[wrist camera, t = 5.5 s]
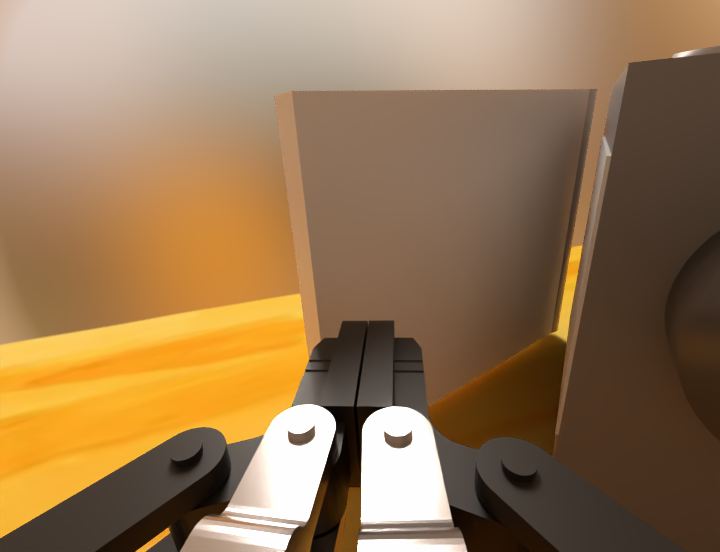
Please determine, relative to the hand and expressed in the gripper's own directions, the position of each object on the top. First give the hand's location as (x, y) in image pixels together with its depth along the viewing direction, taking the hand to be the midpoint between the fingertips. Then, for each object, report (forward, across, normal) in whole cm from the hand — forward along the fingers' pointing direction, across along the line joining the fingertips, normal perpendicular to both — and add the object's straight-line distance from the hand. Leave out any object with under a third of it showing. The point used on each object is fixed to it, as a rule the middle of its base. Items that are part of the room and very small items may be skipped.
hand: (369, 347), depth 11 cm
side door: (+8, -4, +6) cm, 11 cm away
